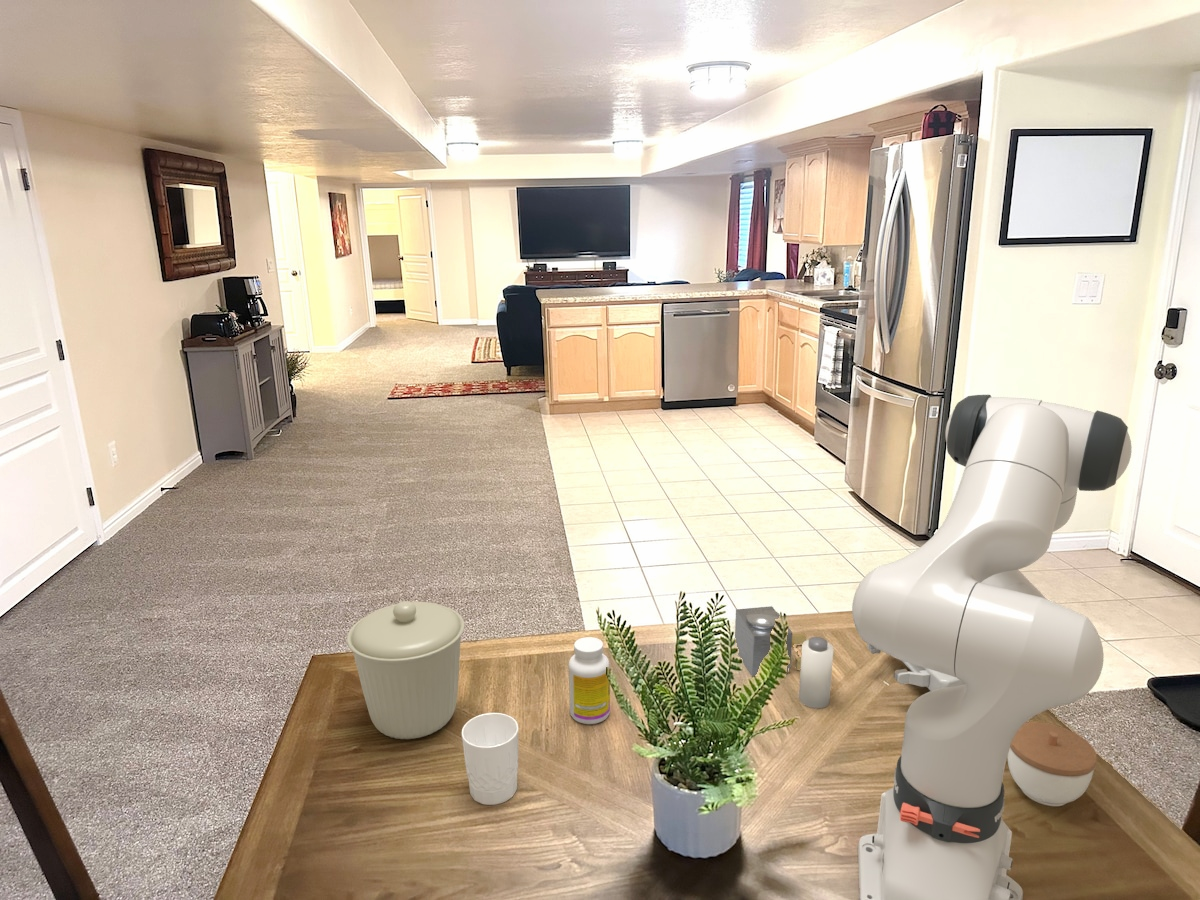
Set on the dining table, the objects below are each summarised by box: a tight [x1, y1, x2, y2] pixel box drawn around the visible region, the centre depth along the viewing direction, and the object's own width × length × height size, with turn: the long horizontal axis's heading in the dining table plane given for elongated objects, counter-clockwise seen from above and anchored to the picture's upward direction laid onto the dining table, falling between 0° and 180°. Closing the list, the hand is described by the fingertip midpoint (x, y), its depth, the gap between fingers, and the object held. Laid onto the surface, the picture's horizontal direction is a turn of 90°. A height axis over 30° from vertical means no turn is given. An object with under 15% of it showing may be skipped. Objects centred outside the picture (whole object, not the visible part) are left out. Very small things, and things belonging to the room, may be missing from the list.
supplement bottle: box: [568, 636, 611, 725], centre depth 130 cm, size 7×7×13 cm
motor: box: [734, 605, 807, 678], centre depth 147 cm, size 13×14×9 cm
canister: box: [346, 600, 466, 740], centre depth 128 cm, size 18×18×21 cm
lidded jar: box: [1007, 721, 1098, 807], centre depth 112 cm, size 11×11×9 cm
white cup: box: [461, 712, 519, 806], centre depth 113 cm, size 8×8×10 cm
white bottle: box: [798, 636, 834, 710], centre depth 133 cm, size 5×5×11 cm
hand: (882, 661), depth 135 cm, fingers open, 8 cm apart
